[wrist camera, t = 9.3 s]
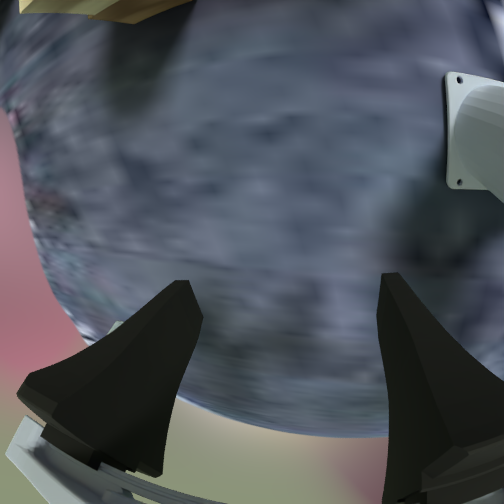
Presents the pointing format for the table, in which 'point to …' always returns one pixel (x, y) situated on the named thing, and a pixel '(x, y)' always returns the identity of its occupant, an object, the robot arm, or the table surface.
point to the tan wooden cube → (135, 10)
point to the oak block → (64, 6)
